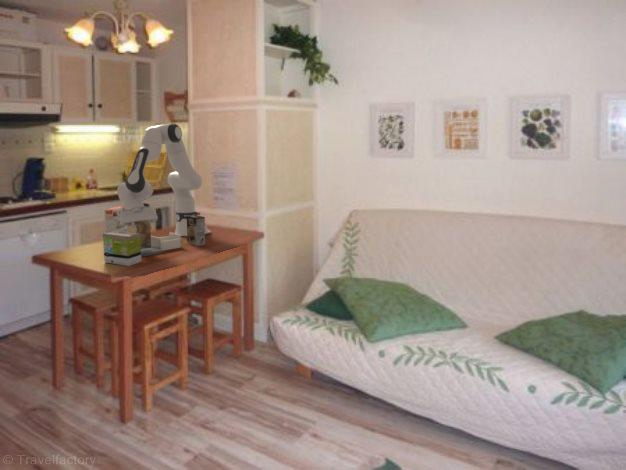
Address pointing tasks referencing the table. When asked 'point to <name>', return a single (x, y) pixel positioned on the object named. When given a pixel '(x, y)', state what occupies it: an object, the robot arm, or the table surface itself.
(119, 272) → the table surface
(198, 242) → the coffee box
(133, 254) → the tea box
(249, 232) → the table surface
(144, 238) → the walnut box
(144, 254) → the plate
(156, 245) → the white open bin
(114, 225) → the cracker box
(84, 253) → the table surface
